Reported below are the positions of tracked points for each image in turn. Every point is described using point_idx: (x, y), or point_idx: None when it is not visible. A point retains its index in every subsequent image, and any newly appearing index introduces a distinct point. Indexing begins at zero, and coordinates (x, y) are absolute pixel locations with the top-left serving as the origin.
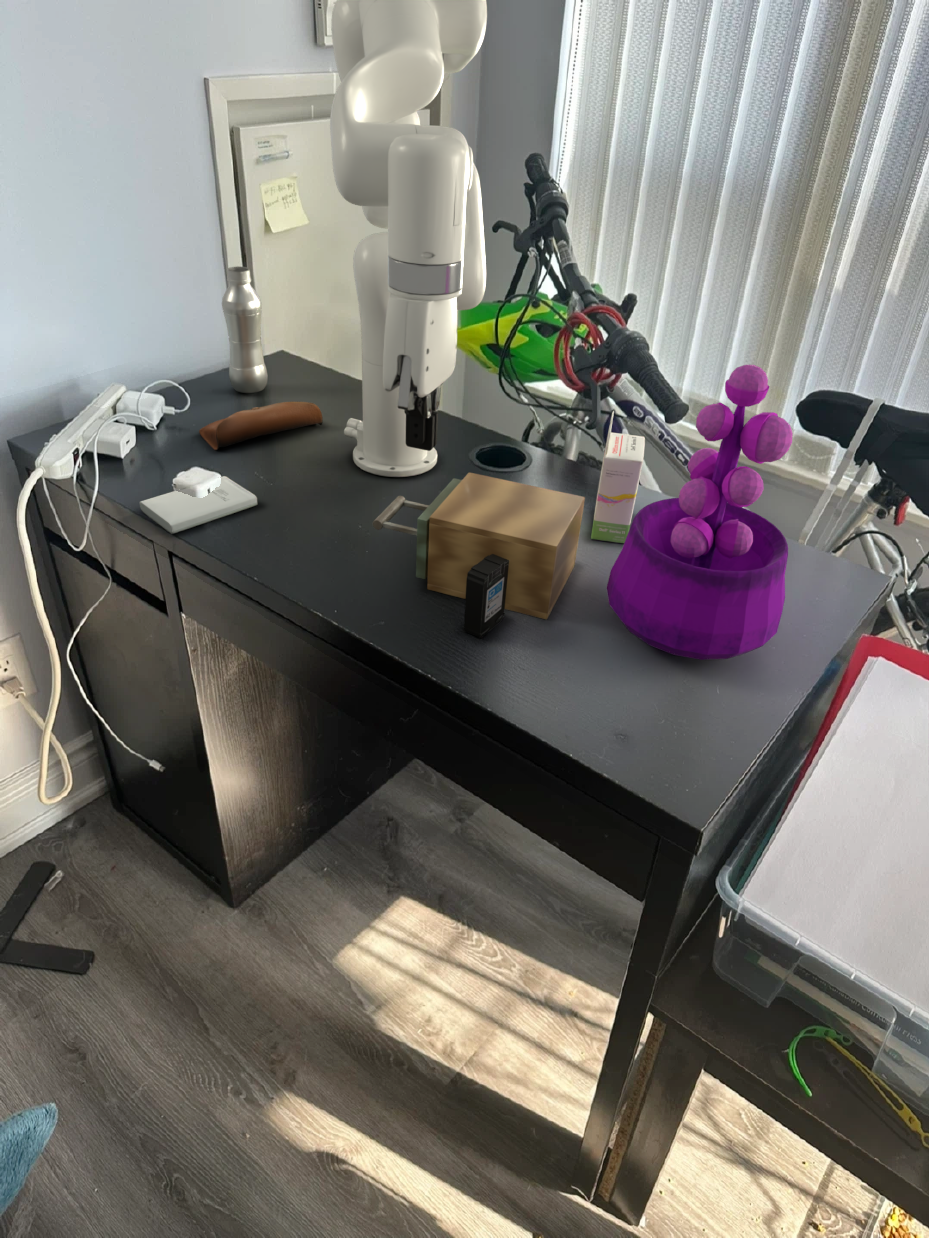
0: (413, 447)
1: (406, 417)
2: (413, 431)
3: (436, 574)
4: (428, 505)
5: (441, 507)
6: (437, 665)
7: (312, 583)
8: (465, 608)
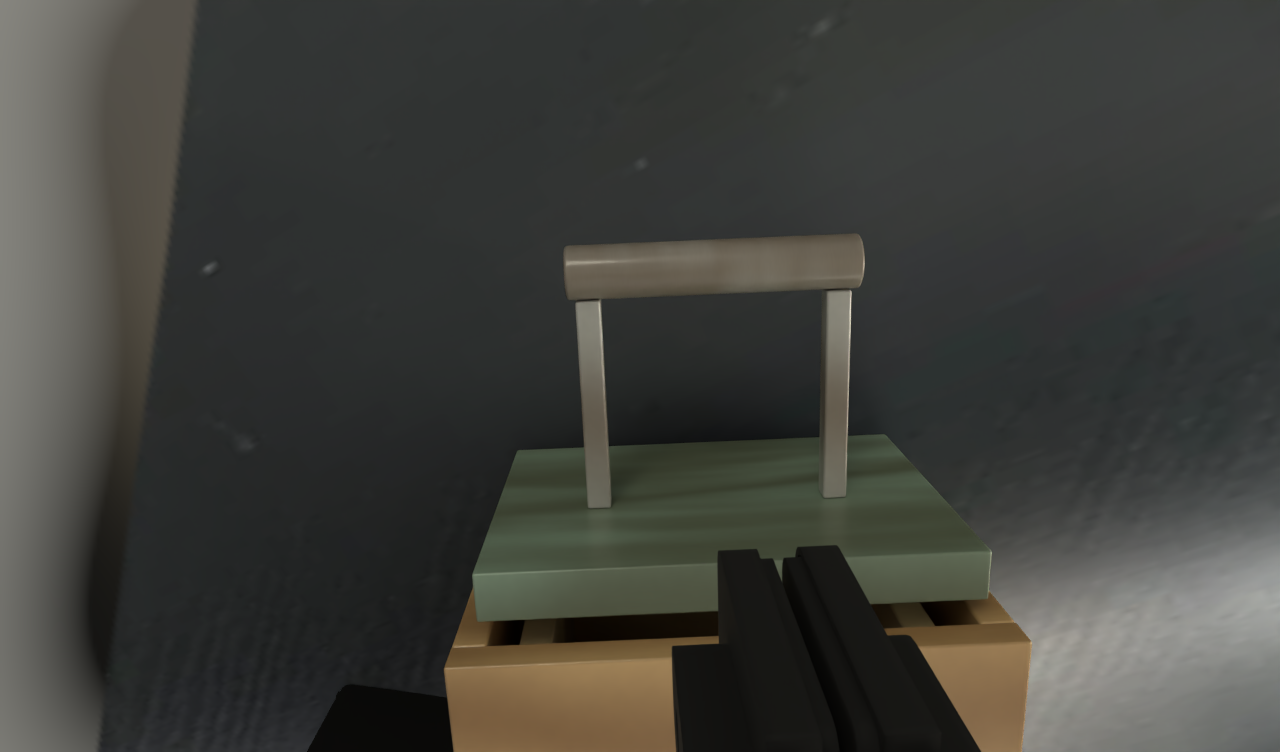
0: (719, 605)
1: (758, 705)
2: (679, 732)
3: None
4: (844, 416)
5: (568, 678)
6: (157, 677)
7: (314, 84)
8: (310, 748)
